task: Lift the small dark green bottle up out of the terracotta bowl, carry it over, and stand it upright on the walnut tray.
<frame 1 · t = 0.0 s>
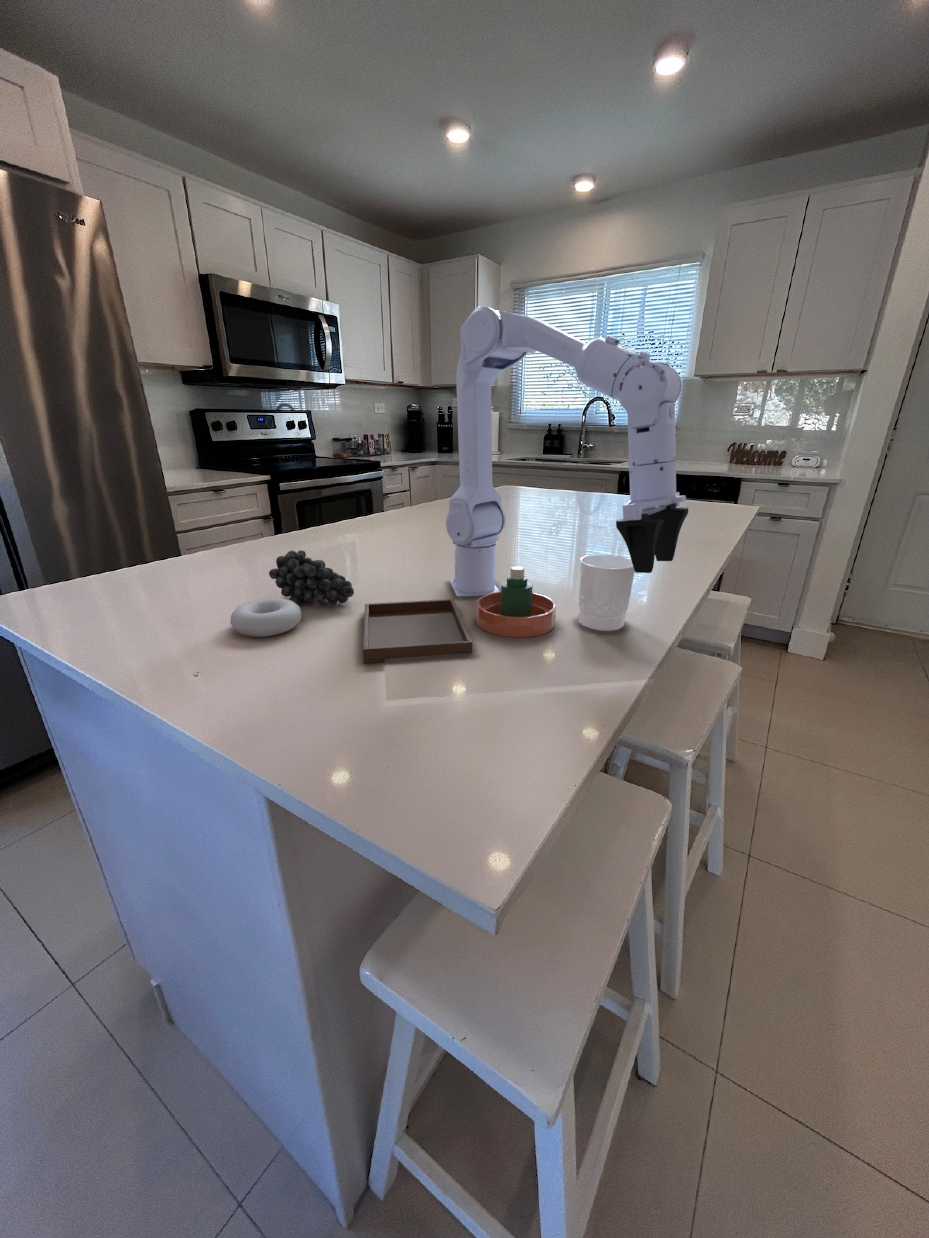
hand: (654, 566, 70), 11 cm above the kitchen island, tool pointing down, fingers open, 7 cm apart
tray: (414, 633, 74), on the kitchen island
donut: (268, 628, 77), on the kitchen island
bottle: (515, 621, 77), resting on bowl
white cup: (600, 625, 78), on the kitchen island
bowl: (515, 624, 78), on the kitchen island
fruit: (316, 603, 87), on the kitchen island
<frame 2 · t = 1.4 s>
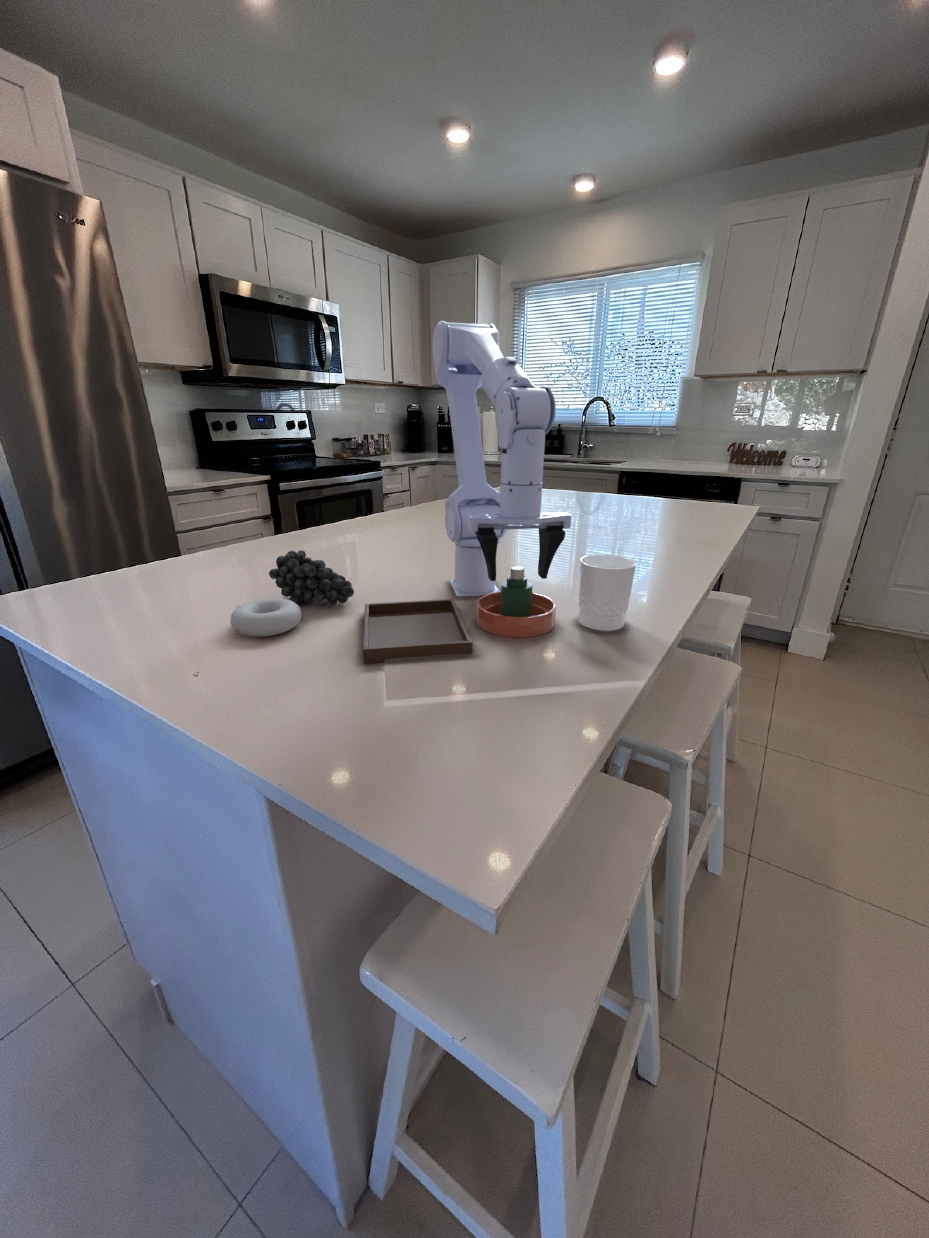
hand: (517, 577, 75), 7 cm above the kitchen island, tool pointing down, fingers open, 7 cm apart
nothing on the kitchen island moved.
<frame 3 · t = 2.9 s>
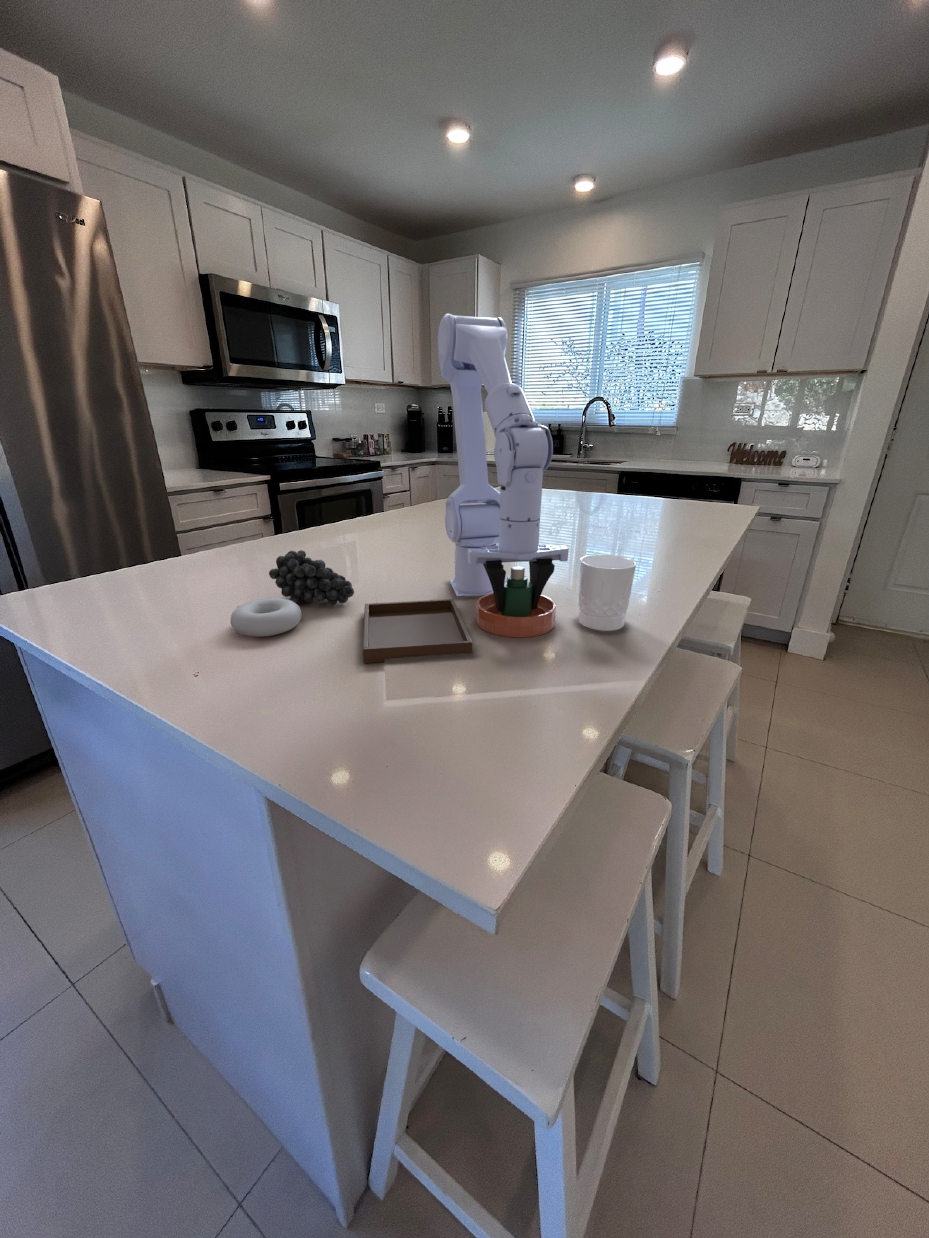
hand: (515, 608, 77), 3 cm above the kitchen island, tool pointing down, fingers closed on bottle, 4 cm apart
bottle: (515, 621, 77), point 1 cm above the kitchen island, touching bowl, gripper
everything else where it was.
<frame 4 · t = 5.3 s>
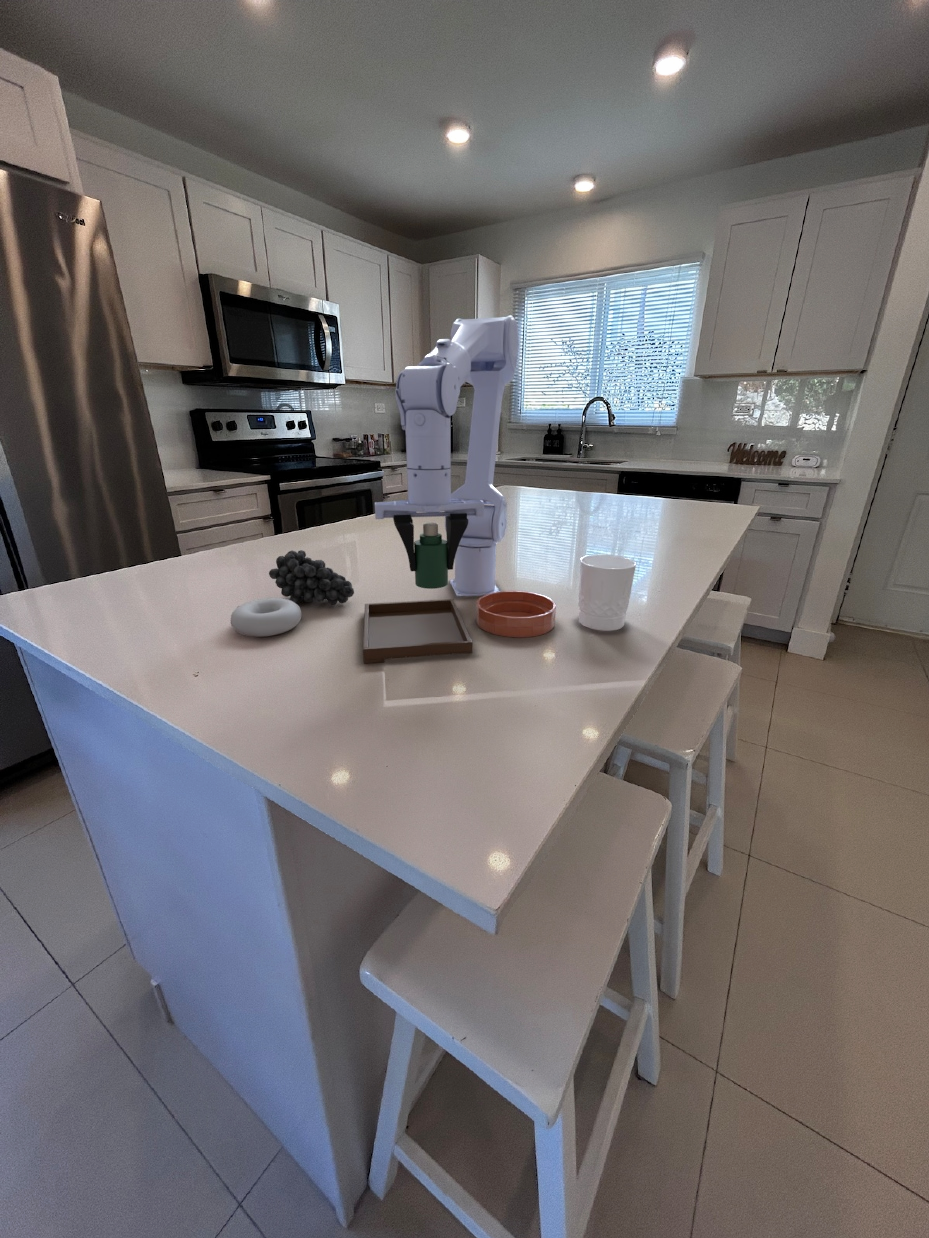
hand: (430, 568, 71), 10 cm above the kitchen island, tool pointing down, fingers closed on bottle, 4 cm apart
bottle: (431, 583, 72), point 8 cm above the kitchen island, touching gripper
everything else where it was.
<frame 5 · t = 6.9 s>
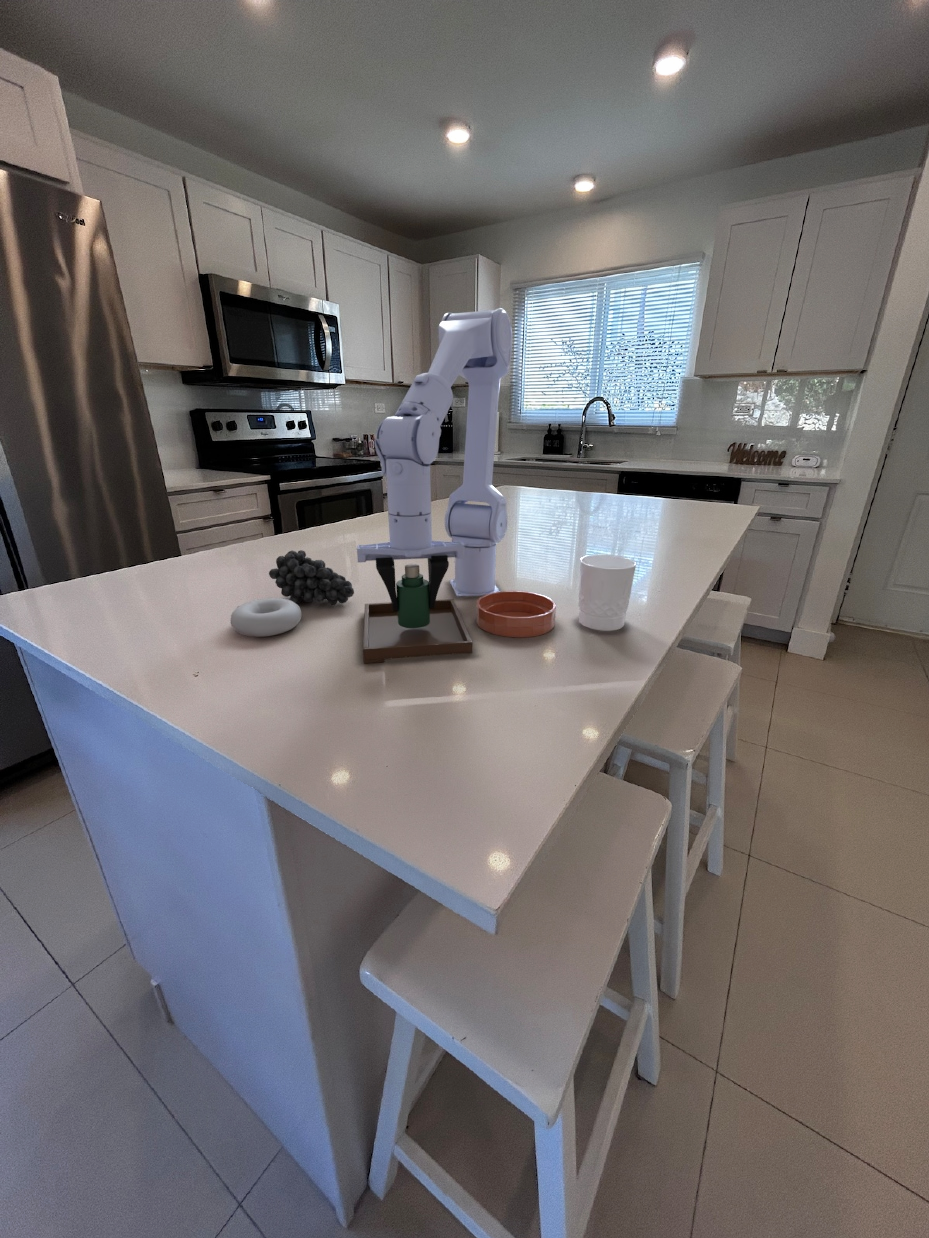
hand: (413, 608, 73), 4 cm above the kitchen island, tool pointing down, fingers closed on bottle, 4 cm apart
bottle: (414, 622, 74), point 2 cm above the kitchen island, touching gripper
everything else where it was.
when the fingers open (3 cm above the kitchen island, at t = 7.8 s): bottle stays where it is, resting on tray.
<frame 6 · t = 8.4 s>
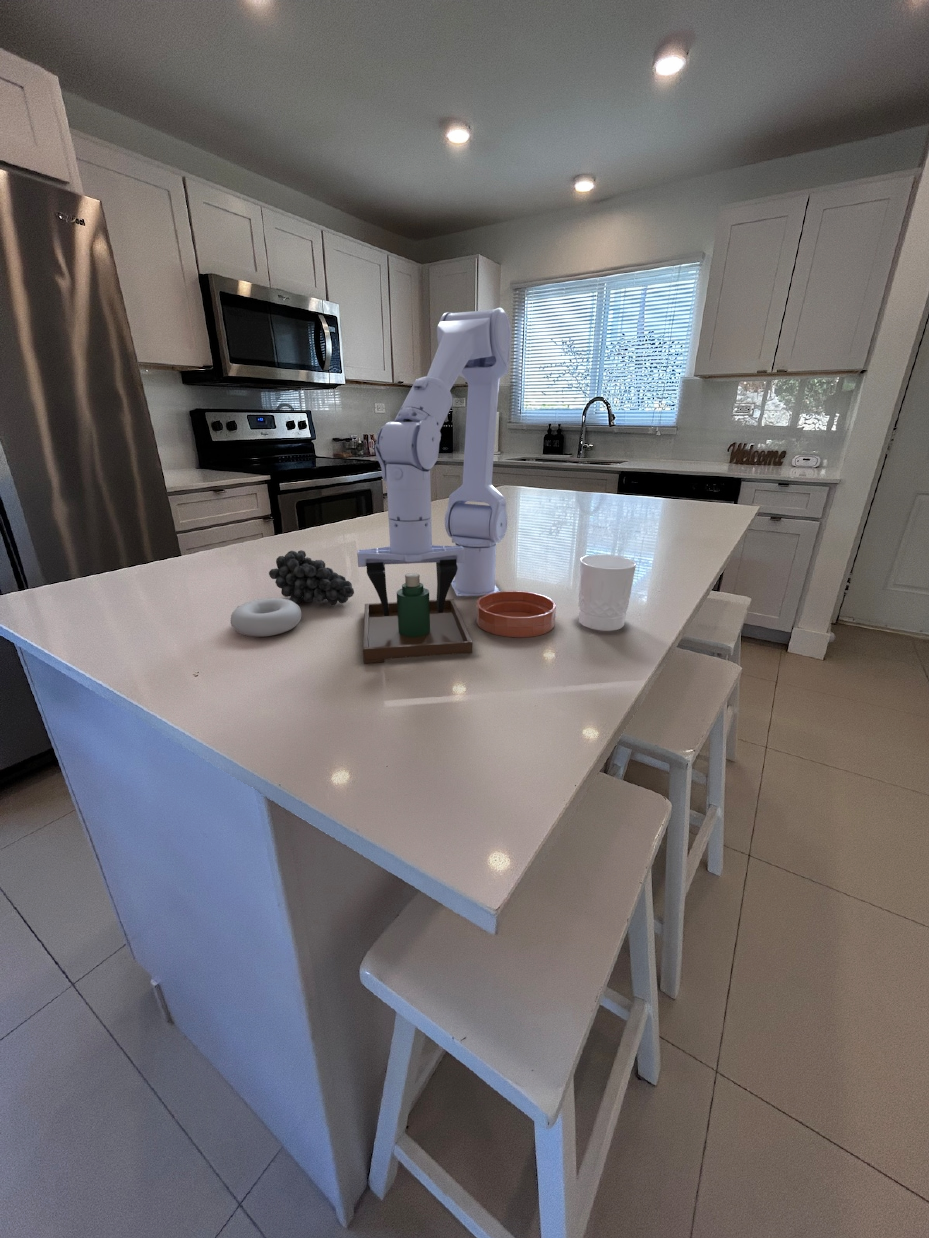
hand: (413, 612, 73), 3 cm above the kitchen island, tool pointing down, fingers open, 7 cm apart
bottle: (414, 630, 74), resting on tray
everything else where it was.
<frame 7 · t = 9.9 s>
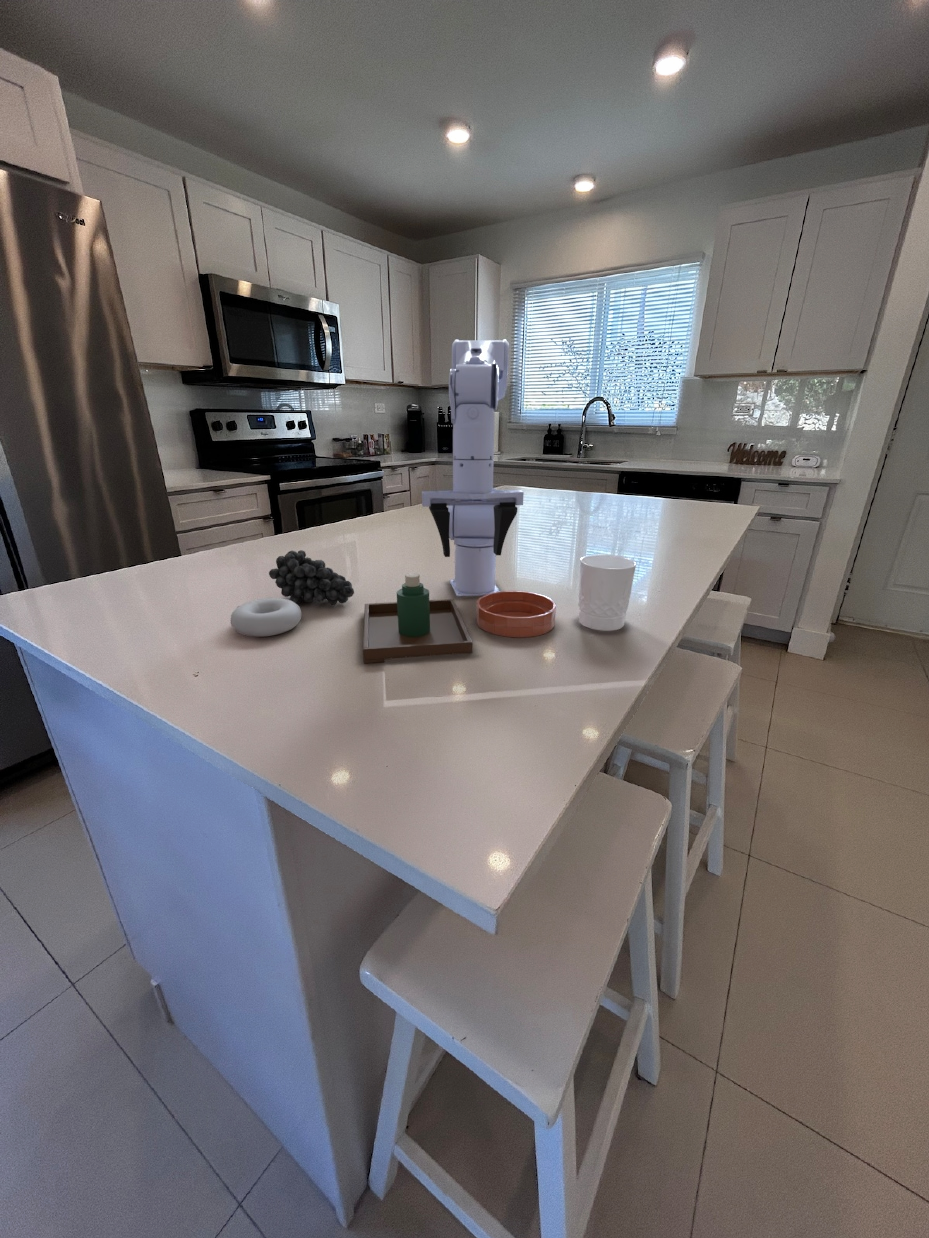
hand: (472, 554, 76), 10 cm above the kitchen island, tool pointing down, fingers open, 7 cm apart
nothing on the kitchen island moved.
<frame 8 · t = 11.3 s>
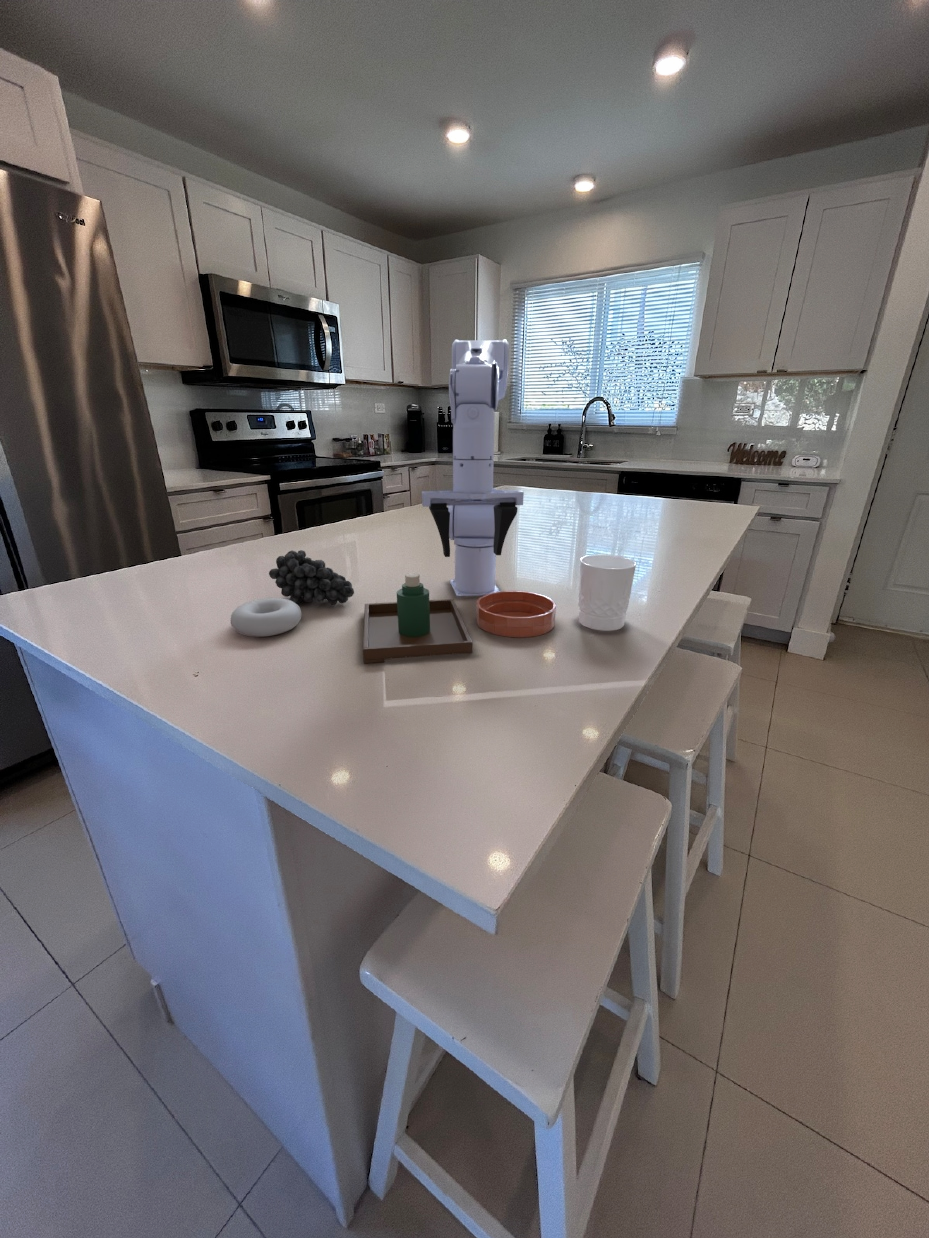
hand: (472, 554, 76), 10 cm above the kitchen island, tool pointing down, fingers open, 7 cm apart
nothing on the kitchen island moved.
at the end: bottle inside the target area in the tray (0.1 cm from its centre), point 0.5 cm above the tray's base; bottle tilted 0°; the gripper is holding nothing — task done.
